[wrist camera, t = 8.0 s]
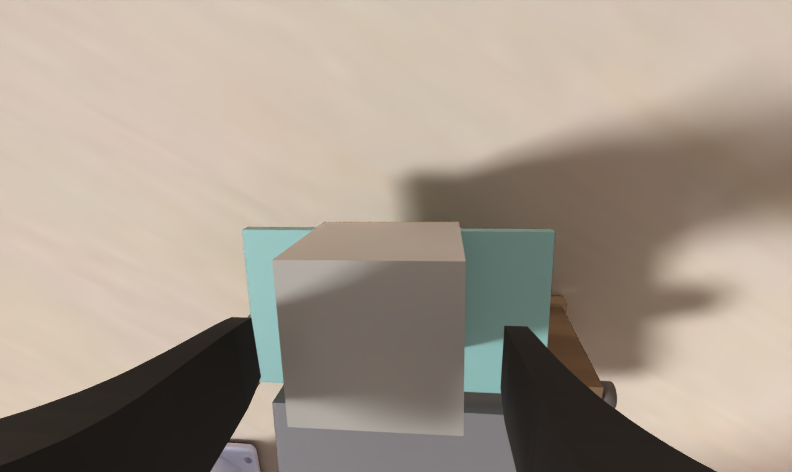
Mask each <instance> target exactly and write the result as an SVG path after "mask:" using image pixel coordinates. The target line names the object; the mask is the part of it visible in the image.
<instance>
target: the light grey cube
mask: <svg viewBox="0 0 792 472" xmlns="http://www.w3.org/2000/svg"><path fill="white" fill-rule="evenodd" d="M272 265H273V276H274V286H275V297H276V308H277V318H278V329H279V340H280V350H281V361H282V372H283V382H284V393H285V404H286V415H287V425H288V427H297V428H316V429H335V430H355V431H374V432H393V433H412V434H431V435H451V436H463V435H464V355H465V275H466V260H465V254H464V248H463V242H462V236H461V230H460V224H459V222H323V223H322V224H321V225H319V226H318V227H317V228H315V229H314V230H312V231H311V232H310V233H308V234H307V235H306V236H304V237H303V238H301V239H300V240H299V241H297V242H296V243H295V244H293V245H292V246H290V247H289V248H288V249H286V250H285V251H284V252H282V253H281V254H279V255H278V256H277V257H275V258H274V259H273V260H272Z"/></svg>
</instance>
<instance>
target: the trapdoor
mask: <svg viewBox="0 0 792 472" xmlns="http://www.w3.org/2000/svg"><path fill="white" fill-rule="evenodd" d="M315 228H317V227H247V228H245V229H243V230H242V234H243V244H244V254H245V264H246V273H247V283H248V293H249V303H250V313H251V318H252V324H253V330H254V336H255V342H256V349H257V355H258V361H259V367H260V373H261V378H260V381H259V382H273V383H284V382H283V372H282V361H281V350H280V340H279V329H278V318H277V308H276V297H275V286H274V276H273V265H272V260H273V259H274V258H275V257H277V256H278V255H279V254H281V253H282V252H284V251H285V250H286V249H288V248H289V247H290V246H292V245H293V244H295V243H296V242H297V241H299V240H300V239H301V238H303V237H304V236H306V235H307V234H308V233H310V232H311V231H312V230H314V229H315ZM460 230H461V236H462V242H463V248H464V254H465V260H466V275H465V355H464V435H463V436H451V435H431V434H412V433H393V432H374V431H355V430H335V429H316V428H297V427H288V425H287V415H286V404H285V393H284V385H283V387H282V388H281V390H280V392H279V393H278V395H277V396H276V398H275V399H274V401H273V402H272V404H273V415H274V426H275V437H276V447H277V458H278V469H279V472H516V468H515V464H514V460H513V456H512V451H511V447H510V443H509V439H508V435H507V431H506V426H505V422H504V414H503V406H502V397H501V389H500V386H501V371H502V355H503V340H504V326H528V328H529V329H530V330H531V331H532V332H533V333H534V334H535V335H536V336H537V337H538V338H539V339H540V340H541V341H542V343H543V344H544V345H545V346H546V347H547V343H548V328H549V314H550V299H551V285H552V271H553V256H554V242H555V231H553V230H552V229H468V228H460Z"/></svg>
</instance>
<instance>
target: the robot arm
mask: <svg viewBox="0 0 792 472" xmlns="http://www.w3.org/2000/svg"><path fill="white" fill-rule="evenodd" d="M260 378H261V373H260V367H259V361H258V355H257V349H256V342H255V336H254V330H253V324H252V318H239V317H231V318H229V319H226V320H224V321H222V322H220V323H218V324H216V325H214V326H212V327H210V328H208V329H207V330H205V331H203V332H201V333H199V334H197V335H196V336H194V337H192V338H190V339H188V340H186V341H185V342H183V343H181V344H179V345H177V346H176V347H174V348H172V349H170V350H168V351H166V352H164V353H162V354H160V355H158V356H156V357H155V358H153V359H151V360H149V361H147V362H145V363H143V364H141V365H139V366H137V367H135V368H133V369H131V370H129V371H127V372H125V373H122V374H120V375H118V376H116V377H114V378H111V379H109V380H107V381H104V382H102V383H100V384H97V385H95V386H93V387H90V388H88V389H85V390H83V391H80V392H78V393H75V394H72V395H69V396H67V397H64V398H61V399H58V400H55V401H53V402H50V403H47V404H44V405H42V406H39V407H36V408H33V409H30V410H27V411H24V412H20V413H17V414H14V415H11V416H8V417H4V418H1V419H0V472H260V467H259V461H258V456H257V450H256V448H255V447H254V446H253V445H251V444H241V443H228V441H229V440H230V438H231V436H232V435H233V433H234V431H235V430H236V428H237V426H238V424H239V423H240V421H241V419H242V418H243V416H244V414H245V412H246V411H247V409H248V407H249V405H250V402H251V400H252V398H253V395H254V393H255V391H256V388H257V386H258V383H259V381H260ZM500 389H501V397H502V406H503V414H504V422H505V426H506V431H507V435H508V439H509V443H510V447H511V451H512V456H513V460H514V464H515V468H516V472H716V471H714V470H712V469H711V468H709V467H707V466H705V465H703V464H701V463H699V462H697V461H696V460H694V459H692V458H690V457H688V456H687V455H685V454H683V453H681V452H680V451H678V450H676V449H674V448H673V447H671V446H669V445H668V444H666V443H665V442H663V441H661V440H660V439H658V438H657V437H655V436H654V435H652V434H650V433H649V432H647V431H646V430H644V429H643V428H641V427H640V426H638V425H637V424H635V423H634V422H632V421H631V420H629V419H628V418H627V417H625V416H624V415H623V414H621V413H620V412H619V411H617V410H616V409H614V408H613V407H612V406H610V405H609V404H608V403H606V402H605V401H604V400H603V399H601V398H600V397H599V396H598V395H597V394H595V393H594V392H593V391H592V390H591V389H590V388H588V387H587V386H586V385H585V384H584V383H583V382H582V381H580V380H579V379H578V378H577V377H576V376H575V375H574V374H573V373H572V372H571V371H570V370H569V369H568V368H567V367H566V366H564V365H563V364H562V363H561V362H560V361H559V360H558V358H557V357H556V356H555V355H554V354H553V353H552V352H551V351H550V350H549V349H548V348H547V347H546V346H545V345H544V344H543V343H542V341H541V340H540V339H539V338H538V337H537V336H536V335H535V334H534V333H533V332H532V331H531V330H530V329H529V328H528V326H504V340H503V355H502V371H501V386H500Z"/></svg>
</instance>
